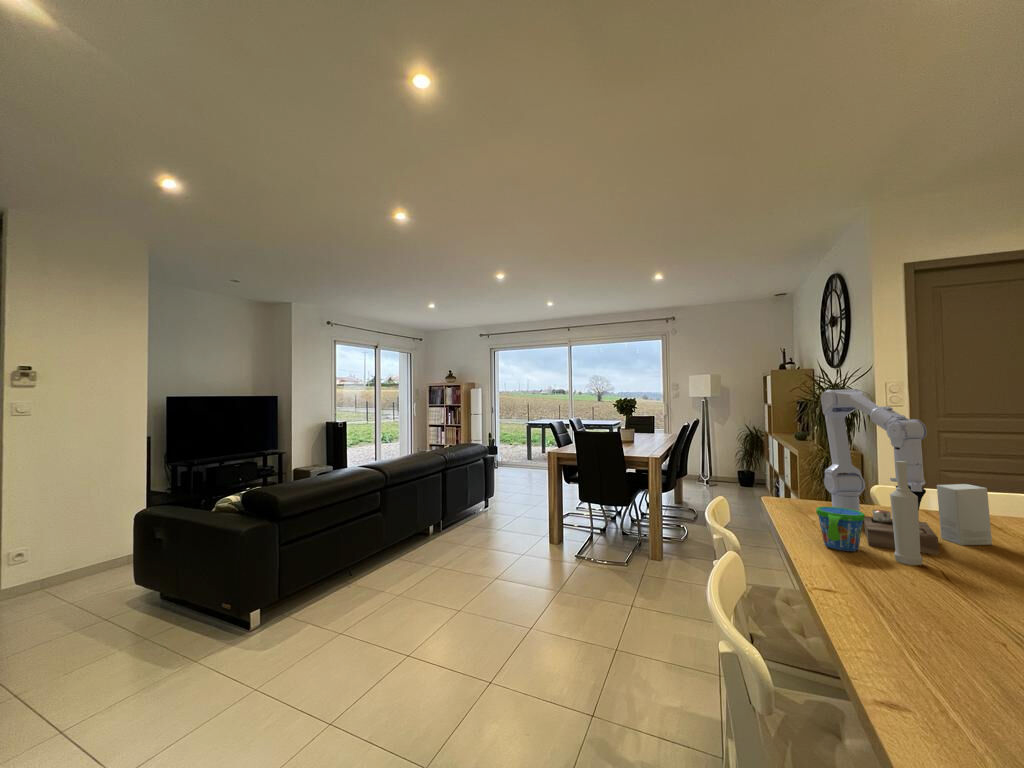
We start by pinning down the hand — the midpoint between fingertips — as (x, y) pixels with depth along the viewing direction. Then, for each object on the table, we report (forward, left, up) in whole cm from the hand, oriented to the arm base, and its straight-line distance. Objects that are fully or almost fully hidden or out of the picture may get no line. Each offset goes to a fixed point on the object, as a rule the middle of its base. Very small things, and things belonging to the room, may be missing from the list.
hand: (912, 513), depth 116 cm
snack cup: (+11, -16, -9) cm, 22 cm away
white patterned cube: (-6, -6, -6) cm, 10 cm away
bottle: (+15, -3, -9) cm, 18 cm away
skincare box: (-12, +12, -9) cm, 19 cm away
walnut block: (-3, -3, -9) cm, 10 cm away
